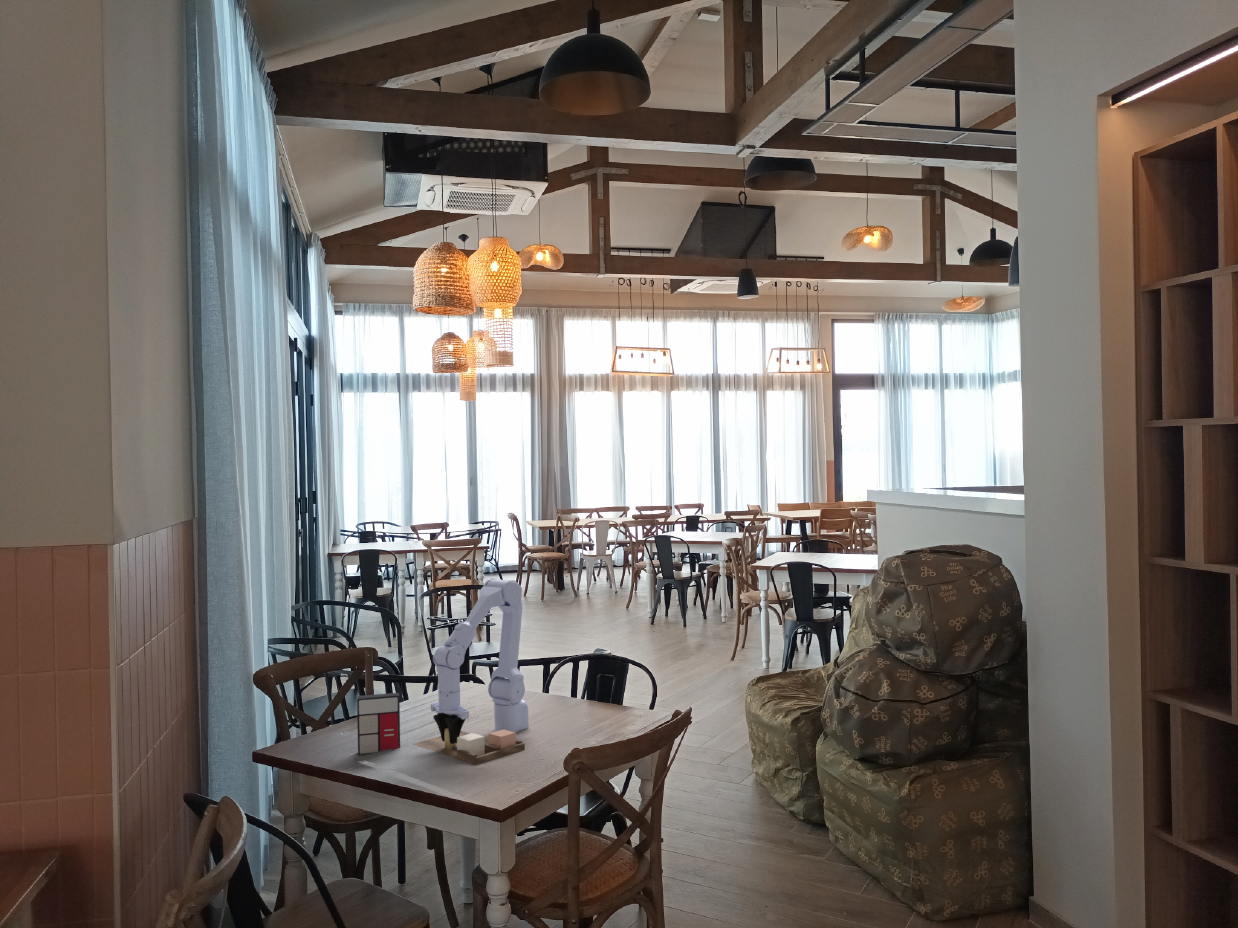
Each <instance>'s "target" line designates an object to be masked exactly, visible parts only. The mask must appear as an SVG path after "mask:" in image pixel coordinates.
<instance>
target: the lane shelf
mask: <svg viewBox="0 0 1238 928" xmlns="http://www.w3.org/2000/svg"><path fill="white" fill-rule="evenodd" d="M467 734H471V733H470V732H466V731H463V730H461V732H460V736H464V735H467ZM460 736H459V737H460ZM413 745H415V746H418V747H420V748H424V749H428V750H429V751H430V750H431V751H433V752H437V753H440V754H443V755H447V756H449V757H451V758H456V759H459V760H462V761H465V762H468V763H471V764H474V765H480V764H482V763H486V762H488V761H492V760H495V759H499V758H501V757H504V756H508V755H511V754H514V753H517V752H520V751H524V750H526V749H525V743H524V742H523V740H520V739H517V738H516V745H513V746H510V747H507V748H503V749H500V747H497V746H493V745H490V744H489V737H488V738H487V737H484V746H485V754H482V755H479V756H477V754H474V753H470V752H467V751H464V750H461V749H460V750H455V749H445V741H442V738H441V735H440V736H437V737H433V738H430V739H427V740H422V741H418V742H415V743H413ZM456 746H457V743H456Z"/></svg>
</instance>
